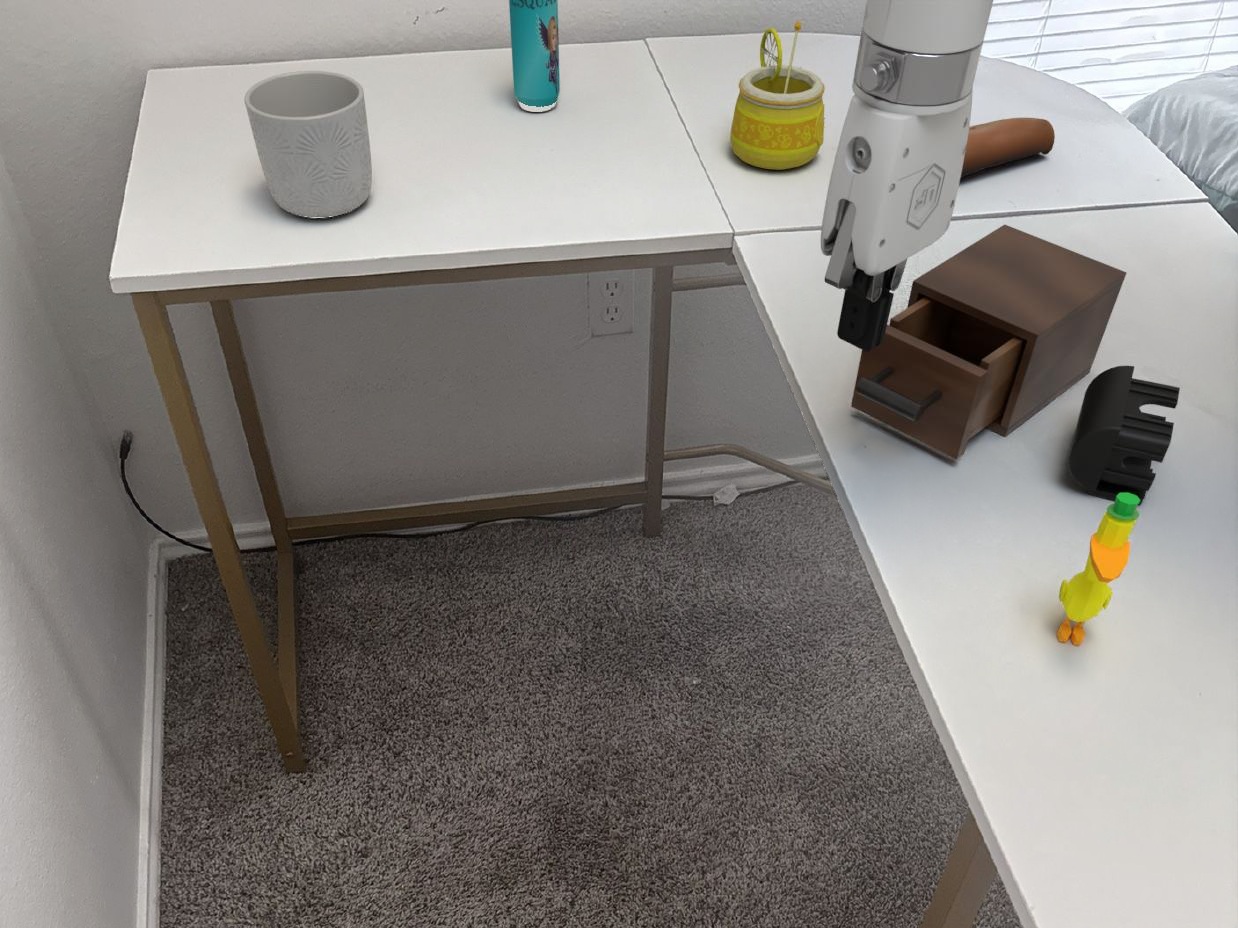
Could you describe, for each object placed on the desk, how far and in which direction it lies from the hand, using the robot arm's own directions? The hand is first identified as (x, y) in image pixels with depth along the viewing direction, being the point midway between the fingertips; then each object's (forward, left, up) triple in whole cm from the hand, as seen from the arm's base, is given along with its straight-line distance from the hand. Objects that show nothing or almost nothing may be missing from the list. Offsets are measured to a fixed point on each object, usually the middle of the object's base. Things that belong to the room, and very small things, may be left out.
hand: (859, 340), depth 87 cm
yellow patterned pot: (+45, -47, -14) cm, 66 cm away
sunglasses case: (+27, -61, -14) cm, 68 cm away
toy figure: (-24, +2, -14) cm, 28 cm away
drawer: (0, -14, -12) cm, 19 cm away
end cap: (-15, -19, -14) cm, 28 cm away
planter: (+73, -1, -14) cm, 74 cm away
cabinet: (0, -24, -13) cm, 28 cm away
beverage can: (+75, -36, -14) cm, 84 cm away
